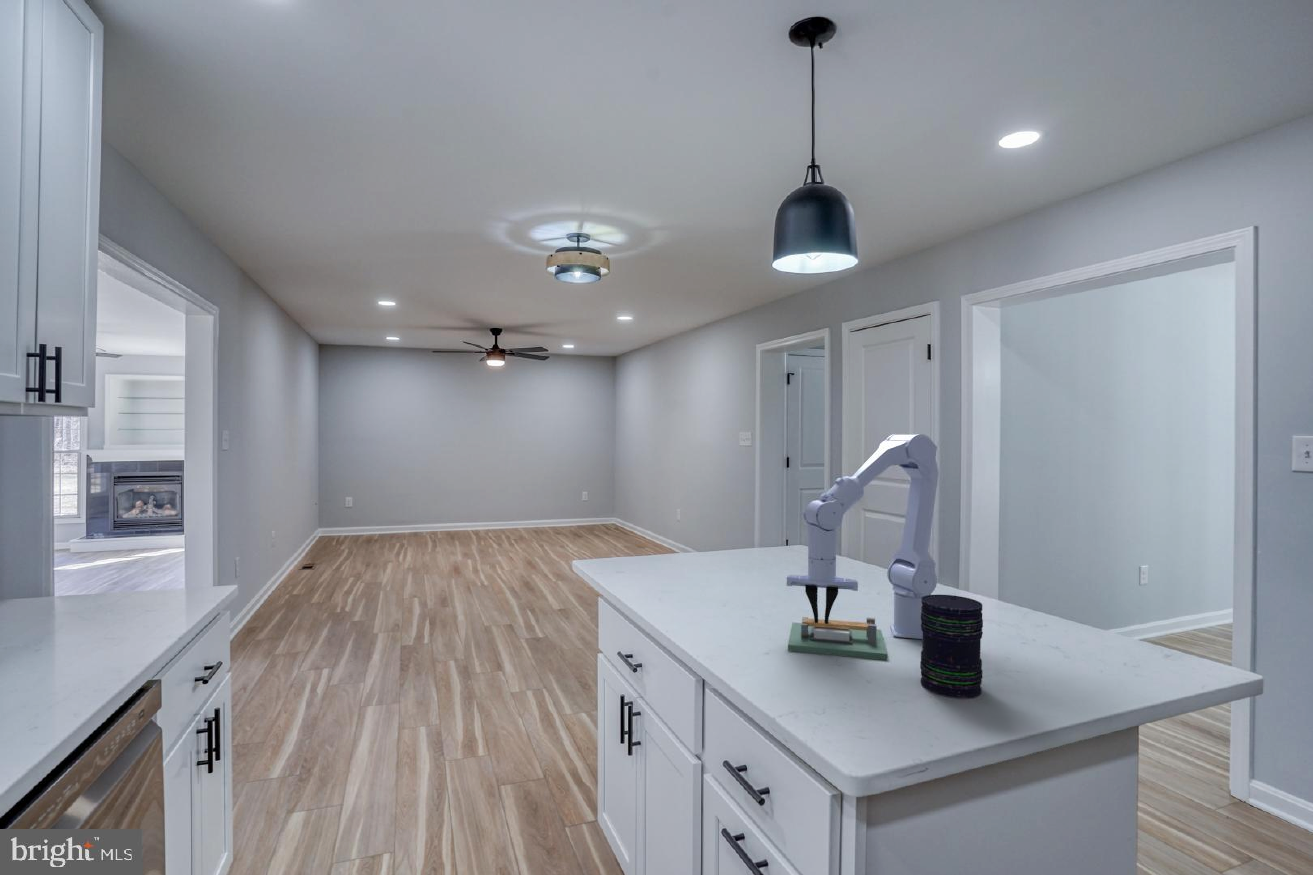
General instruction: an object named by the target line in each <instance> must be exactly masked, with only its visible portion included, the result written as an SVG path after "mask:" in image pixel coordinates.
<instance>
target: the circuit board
mask: <svg viewBox="0 0 1313 875" xmlns="http://www.w3.org/2000/svg"><path fill="white" fill-rule="evenodd" d="M801 618H802V619H803V618H809V617H807V616H806V617H805V616H802V617H801ZM802 619H801V620H802ZM869 622H872V623H873V624H868V631H864V630H851V629H838V628H825V627H812V626H807V624H804V623H802V622H792V623H791V628H790V634H789V639H788V644H787V651H789V652H798V653H799V652H800V653H810V654H820V655H828V656H829V655H831V656H840V657H841V656H842V657H851V658H863V659H870V660H871V659H872V660H883V661H887V660H888V651H887V648H886V642H885V639H884V636H883V632H882V629H877V627H878V626H877V624H876V618H875V617H866V623H869Z"/></svg>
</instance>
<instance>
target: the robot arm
mask: <svg viewBox="0 0 1313 875" xmlns="http://www.w3.org/2000/svg"><path fill="white" fill-rule="evenodd" d="M937 450H938V447H937V445H936V444H935V443H934V441H933V440H932V439H931V438H930V437H929V436H928V435H926V434H923V433H918V434H899V433H893V434H891V435H889V436H888V437H887V438H886V439H885V440H884V441H882V442H880V444H879V447H878V448H877V450H876V451H875V452H874V453H873V454H872V455H871V456H869V458H868V459H867V460H866V461H865V463H863V464H862V465H861V467H859V469H858V470H857V471H856V472H854V474H853V475H852V476H843V477H838V478H836V480H834V483H835V484H833V486H832V487H831V488H829V489H828V490H827V492H825V493H821V495H820V496H819V500H812V501H811V502H810V503H809V504H808V505H807V506H806V509H805V510H804V511H805V512H803V513H802V514H803V515H802V516H803V520H804V522H805V523H806V524H807V530H808V534H807V535H808V538H807V540H808V548H807V549H808V551H807V554H808V558H807V560H808V561H807V562H808V563H807V575H806V574H805V575H803V574H802V575H799V574H798V575H793V574H792V575H790V574H788V575H786V587H804V588H805V590H804V591H805V595H806V596H807V599H808V601H809V604H810V606H811V609H812V614H813V619H814V621H815V622H817V623H818V619H819V610H818V608H819V607H818V588H821V589H825V610H824V620H825V623H828V620H830V619H829V618H830V614H831V612H832V611H831V610H832V608H833V606H834V603H835V601H836V599H837V597H838V595H839V590H850V591H853V592H857V591H859V588H858V587H859V581H858V579H853V578H843V577H839V576H838V577H837V528H838V527H840V526H841V524H842V522H843V518H844V515H845V514H846V512H848V511H849V510H850V509H851V508H852V507H853V506H854V505H855V504H856V503H857V502H859V501H860V500H861V499H862V497H864V489H865V487H866V486H868V485H869V484H870V483H872V481H874V480H875V479H876V478H877V477H879V476H880V475H881V474H882V473H884V472H885V471H886V470H888V469H889V468H890V467H892V466H899V467H900V468H901V469H903V470H904V472H905V473H906V474H907V475H908V476H909V478H910V482H909V490H908V498H907V504H906V509H905V510H906V511H905V518H904V525H903V526H904V528H903V533H902V541H901V547H900V548H899V549H898V550H896V551H894V553H893V556H892V560H891V563H890V564H889V566H888V567H887V572H886V574H887V580H888V582H889V583H890V584H891V585H892V590H893V592H894V593H893V624H890V626H889V627H890V629H891V632H892V635H893V637H895V638H906V639H918V640H923V632H922V630H921V612H922V611H921V607H922V603H921V599H922V597H924V596H927V595H932V593H933V592H934V591H935V590H936V588H937V584H938V579H937V578H938V576H937V574H936V564H937V563H936V562H935V560H934V559H933V557H932V556H931V554H930V553H929V546H930V540H931V532H932V531H931V530H932V524H933V519H934V518H933V517H934V510H935V504H936V494H937V487H938V480H939V467H938V463H937V459H936V458H937V457H936V456H937Z"/></svg>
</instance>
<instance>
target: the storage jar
mask: <svg viewBox="0 0 1313 875" xmlns="http://www.w3.org/2000/svg"><path fill="white" fill-rule="evenodd" d="M921 603H922V607H921V611H922V612H921V630H922V632H923V639H922V643H921V644H922V650H921V651H920V661H919V665H920V666H919V668H920V669H919V670H920V676H921V678H920V684H921V687H923V688H924V689H925V690H927V691H928V692H931V694H936V695H939V696H942V697H946V698H952V699H960V700H963V699H964V700H965V699H975V698H978V697H980V696H981V695H982V692H983V691H982V690H983V689H982V687H981V686H982V680H983V661H982V660H983V659H982V658H981V643H982V642H981V641H982V639H983V635H984V634H983V633H984V632H983V626H984V625H983V624H984V620H983V612H982V611H983V603H981V602H980V601H979V600H976V599H974V598H969V597H965V596H960V595H952V594H931V595H927V596H924V597H922V599H921Z"/></svg>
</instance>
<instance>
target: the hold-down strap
mask: <svg viewBox="0 0 1313 875" xmlns="http://www.w3.org/2000/svg"><path fill="white" fill-rule="evenodd" d="M801 623H804V624H807V626H812V627H825V628H838V629H851V630H864V631H868V624H873V623H872V622H869V623H867V622H863V621H861V622H860V621H850V620H849V621H848V620H847V621H846V620H836V619H834V620H833V619H828V623H825V619H822V618H821V619H820V618H818V623H817V622H815V621H814V618H809V617H808V618H803V619H801Z"/></svg>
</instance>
